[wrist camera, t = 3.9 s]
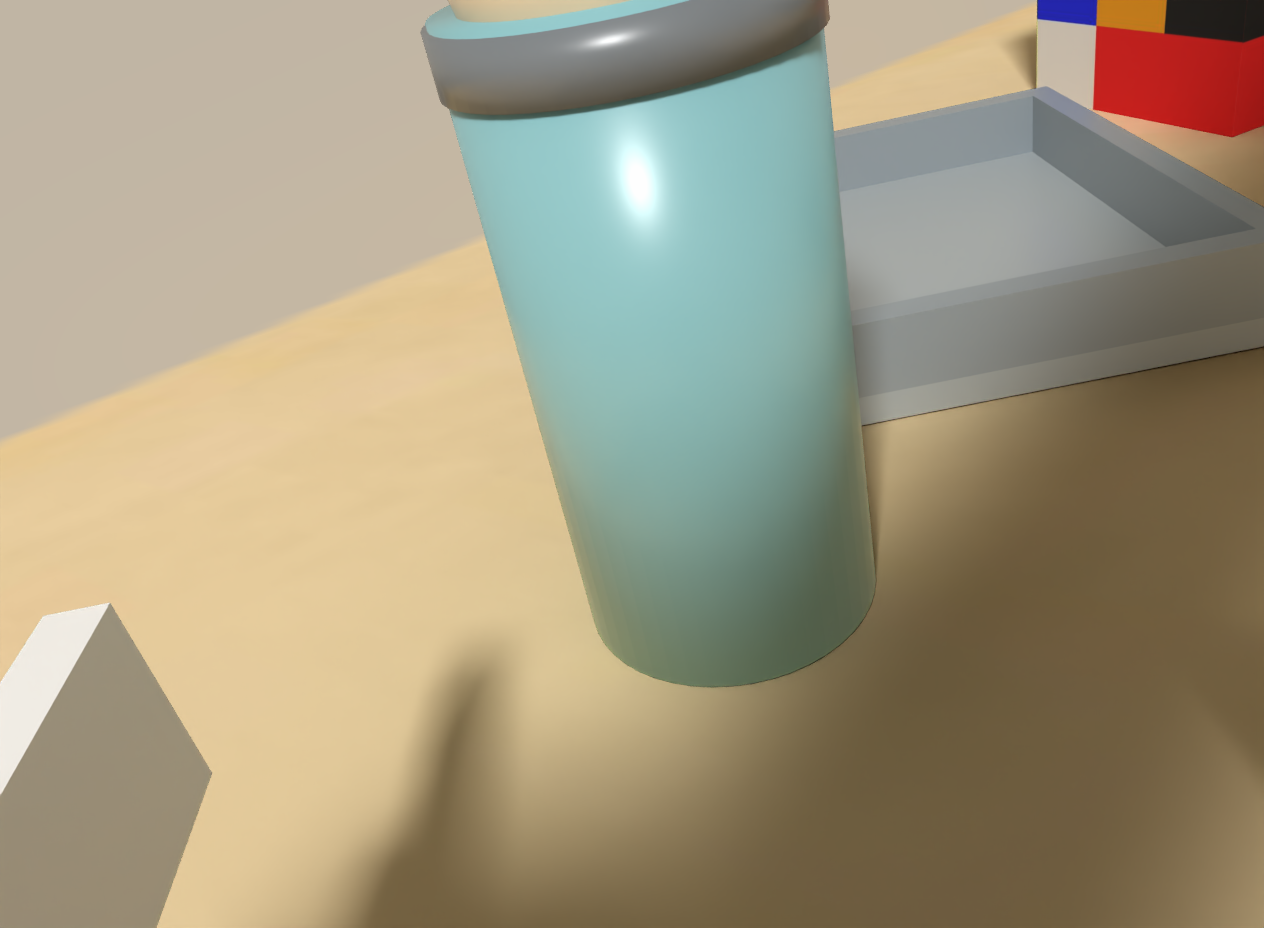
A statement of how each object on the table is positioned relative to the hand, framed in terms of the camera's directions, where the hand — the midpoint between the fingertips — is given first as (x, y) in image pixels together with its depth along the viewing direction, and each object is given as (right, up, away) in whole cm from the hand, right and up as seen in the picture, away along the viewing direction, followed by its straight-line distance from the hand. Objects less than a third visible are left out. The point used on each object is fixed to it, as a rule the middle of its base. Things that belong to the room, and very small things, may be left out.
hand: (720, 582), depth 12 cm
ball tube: (+1, -1, +11) cm, 11 cm away
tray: (+7, +7, +21) cm, 24 cm away
